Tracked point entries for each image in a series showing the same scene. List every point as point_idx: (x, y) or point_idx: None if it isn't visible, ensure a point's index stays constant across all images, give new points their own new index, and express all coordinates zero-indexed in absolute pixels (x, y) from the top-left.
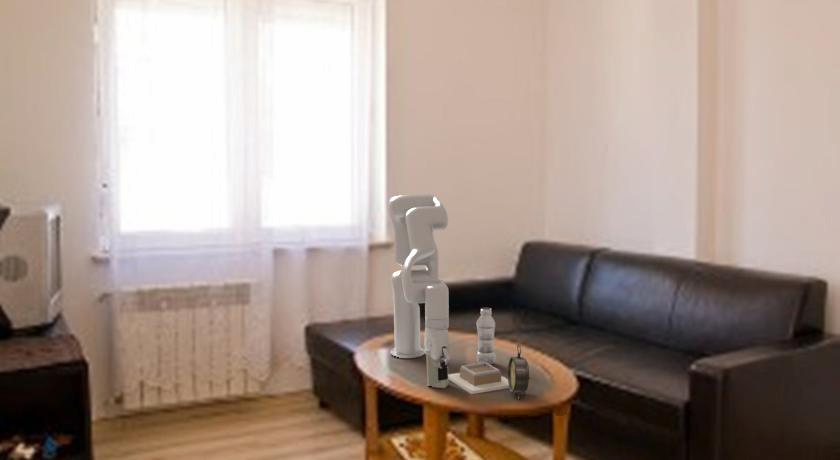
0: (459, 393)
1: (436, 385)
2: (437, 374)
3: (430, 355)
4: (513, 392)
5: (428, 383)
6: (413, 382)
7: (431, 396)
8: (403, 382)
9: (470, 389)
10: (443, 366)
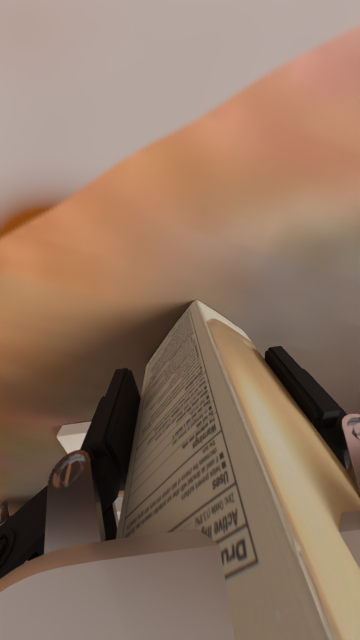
0: (76, 396)
1: (165, 341)
2: (160, 388)
3: (192, 618)
4: (5, 519)
5: (192, 311)
6: (295, 244)
7: (39, 280)
8: (332, 176)
9: (76, 438)
10: (32, 502)
